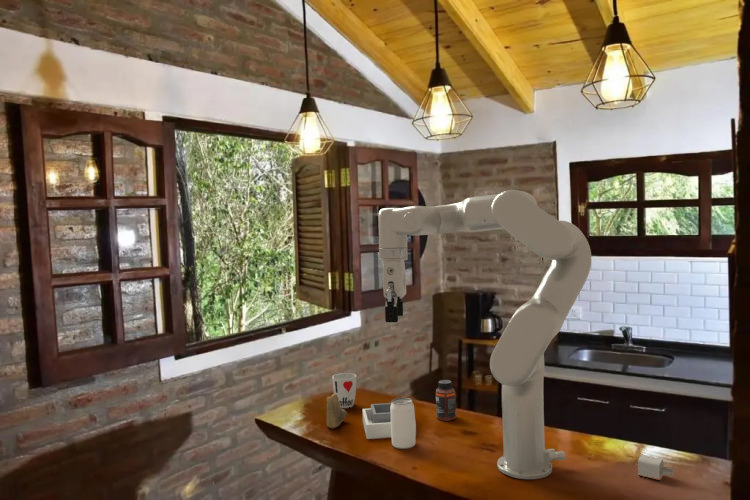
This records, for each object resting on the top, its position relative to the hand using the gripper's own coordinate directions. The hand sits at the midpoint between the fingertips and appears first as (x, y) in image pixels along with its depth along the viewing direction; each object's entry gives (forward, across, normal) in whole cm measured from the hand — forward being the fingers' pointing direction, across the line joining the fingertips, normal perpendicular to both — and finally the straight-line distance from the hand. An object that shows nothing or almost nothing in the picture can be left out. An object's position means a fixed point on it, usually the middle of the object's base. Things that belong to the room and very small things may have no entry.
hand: (394, 318), depth 145 cm
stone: (+35, +14, +21) cm, 43 cm away
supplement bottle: (+34, +23, -12) cm, 43 cm away
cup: (+35, +33, +22) cm, 53 cm away
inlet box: (+34, +13, +4) cm, 37 cm away
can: (+34, +1, -2) cm, 35 cm away
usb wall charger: (+33, -13, -61) cm, 71 cm away
